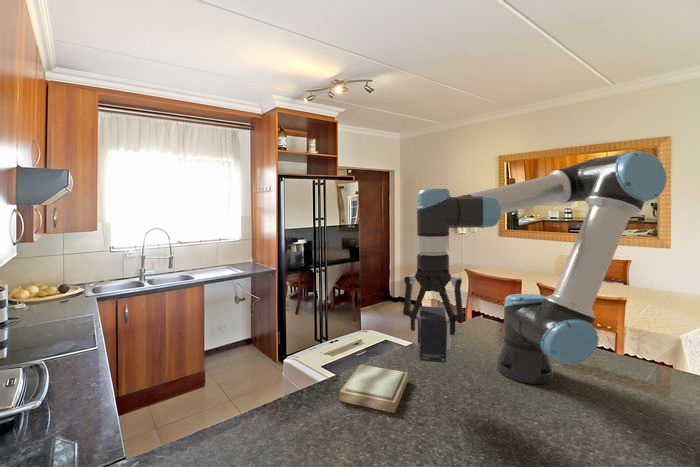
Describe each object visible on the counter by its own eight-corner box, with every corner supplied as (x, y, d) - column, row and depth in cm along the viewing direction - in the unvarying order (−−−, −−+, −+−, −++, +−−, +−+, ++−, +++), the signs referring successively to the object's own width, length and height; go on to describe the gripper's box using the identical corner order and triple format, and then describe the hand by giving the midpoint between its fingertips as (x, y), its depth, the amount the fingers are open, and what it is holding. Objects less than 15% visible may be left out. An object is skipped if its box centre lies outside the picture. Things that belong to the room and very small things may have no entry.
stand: (407, 381, 97) (407, 370, 97) (394, 412, 82) (394, 400, 82) (360, 372, 102) (360, 362, 102) (339, 401, 87) (339, 389, 87)
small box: (447, 363, 81) (447, 319, 80) (419, 361, 82) (418, 318, 81) (444, 345, 91) (445, 306, 90) (419, 344, 92) (419, 305, 91)
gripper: (476, 252, 84) (475, 344, 86) (396, 249, 91) (396, 335, 93) (476, 256, 77) (474, 356, 79) (389, 253, 84) (390, 346, 86)
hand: (432, 345), depth 86 cm, fingers closed on small box, 7 cm apart
